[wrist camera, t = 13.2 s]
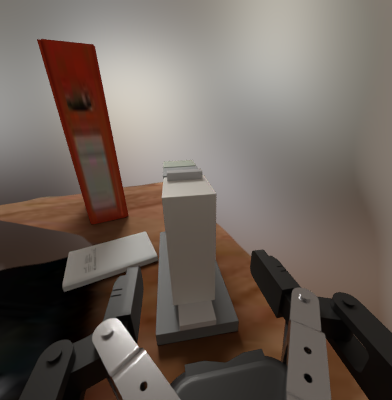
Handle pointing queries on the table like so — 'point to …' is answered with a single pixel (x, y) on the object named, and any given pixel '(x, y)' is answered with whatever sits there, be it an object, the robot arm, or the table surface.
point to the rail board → (192, 312)
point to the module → (190, 235)
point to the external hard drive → (107, 260)
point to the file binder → (86, 126)
